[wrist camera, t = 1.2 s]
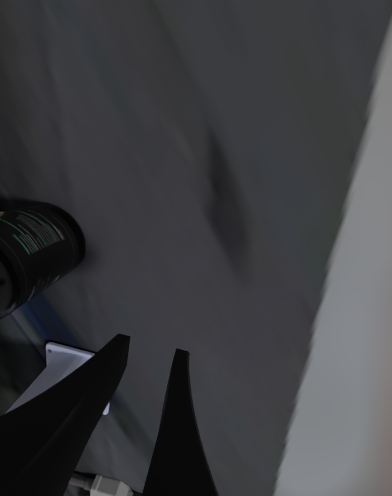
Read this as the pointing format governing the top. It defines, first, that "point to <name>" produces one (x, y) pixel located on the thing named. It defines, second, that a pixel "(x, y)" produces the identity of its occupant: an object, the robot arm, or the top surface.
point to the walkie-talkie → (102, 486)
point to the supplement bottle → (35, 252)
